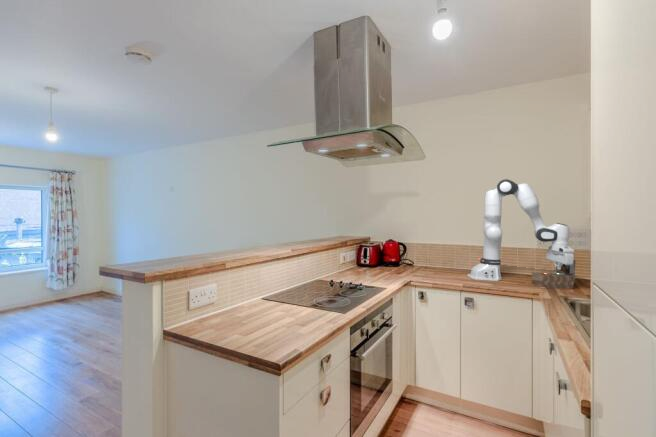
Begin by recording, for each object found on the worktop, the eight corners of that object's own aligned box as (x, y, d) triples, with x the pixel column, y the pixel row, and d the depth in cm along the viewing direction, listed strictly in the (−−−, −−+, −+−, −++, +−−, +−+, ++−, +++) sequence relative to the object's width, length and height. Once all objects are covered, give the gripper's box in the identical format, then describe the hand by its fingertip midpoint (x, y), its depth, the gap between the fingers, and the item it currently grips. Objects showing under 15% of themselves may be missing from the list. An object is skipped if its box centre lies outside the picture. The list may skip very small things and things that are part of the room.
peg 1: (544, 287, 200) (544, 273, 200) (538, 284, 206) (539, 271, 205) (552, 287, 200) (553, 273, 200) (547, 285, 206) (547, 271, 205)
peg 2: (556, 287, 200) (557, 273, 200) (550, 285, 206) (551, 271, 205) (565, 287, 200) (566, 274, 199) (559, 285, 205) (560, 272, 205)
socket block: (541, 288, 198) (541, 275, 198) (531, 284, 208) (532, 272, 208) (573, 289, 198) (573, 276, 197) (561, 284, 208) (562, 273, 207)
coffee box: (574, 283, 211) (576, 260, 211) (569, 284, 209) (570, 261, 208) (560, 280, 220) (561, 258, 219) (554, 281, 217) (556, 258, 216)
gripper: (544, 245, 212) (542, 265, 213) (566, 250, 192) (564, 272, 192) (553, 245, 212) (551, 265, 213) (576, 251, 191) (574, 272, 192)
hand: (557, 269), depth 202 cm, fingers closed
